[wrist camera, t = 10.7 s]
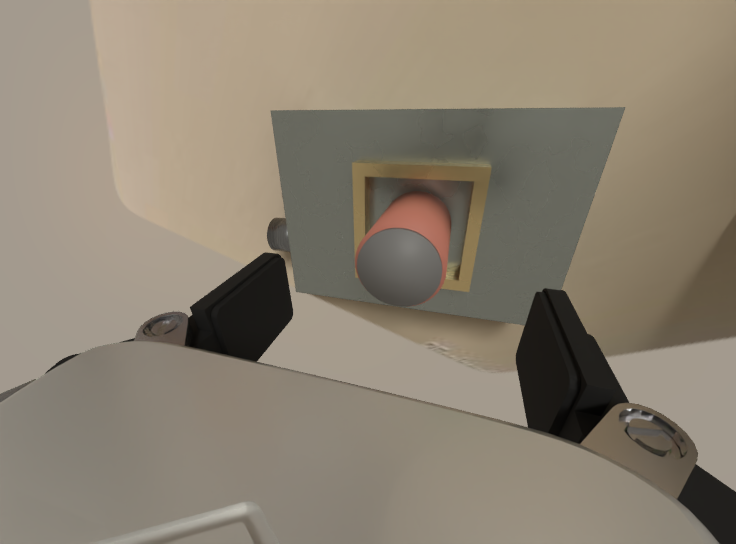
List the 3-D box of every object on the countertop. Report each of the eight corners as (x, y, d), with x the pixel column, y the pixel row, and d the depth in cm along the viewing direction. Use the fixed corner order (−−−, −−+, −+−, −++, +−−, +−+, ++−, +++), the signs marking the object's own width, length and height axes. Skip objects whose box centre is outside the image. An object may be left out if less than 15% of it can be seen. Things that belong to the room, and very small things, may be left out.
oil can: (455, 193, 19) (452, 230, 13) (446, 258, 21) (440, 316, 15) (385, 188, 20) (351, 221, 14) (383, 251, 22) (354, 302, 16)
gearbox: (582, 108, 20) (637, 107, 14) (530, 287, 27) (551, 339, 20) (277, 111, 25) (219, 110, 19) (296, 259, 32) (258, 294, 26)
